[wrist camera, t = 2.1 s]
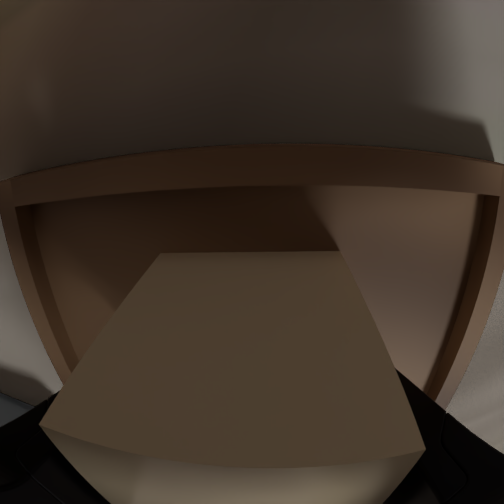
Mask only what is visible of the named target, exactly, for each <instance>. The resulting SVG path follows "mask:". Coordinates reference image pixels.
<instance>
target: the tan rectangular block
mask: <svg viewBox="0 0 504 504" xmlns="http://www.w3.org/2000/svg"><path fill="white" fill-rule="evenodd" d="M39 425H40V427H41V428H42V429H43V431H44V432H45V433H46V435H47V436H48V437H49V438H50V440H51V441H52V442H53V443H54V445H55V446H56V447H57V448H58V449H59V451H60V452H61V453H62V454H63V455H64V456H65V458H66V459H67V460H68V461H69V462H70V463H71V464H72V465H73V467H74V468H75V469H76V470H77V471H78V472H79V473H80V474H81V475H82V476H83V477H84V478H85V479H86V480H87V481H88V482H89V483H90V484H91V485H92V486H93V487H94V488H95V489H96V490H97V491H98V492H99V493H100V494H101V495H102V496H103V497H104V498H105V499H106V500H107V501H108V502H110V503H111V504H383V502H384V501H385V500H386V499H387V498H388V497H389V496H390V495H391V493H392V492H393V491H394V490H395V489H396V488H397V486H398V485H399V484H400V483H401V482H402V480H403V479H404V478H405V477H406V475H407V474H408V473H409V472H410V470H411V469H412V468H413V466H414V465H415V464H416V462H417V461H418V460H419V458H420V457H421V456H422V454H423V453H424V451H425V450H426V448H425V445H424V443H423V440H422V437H421V434H420V431H419V428H418V426H417V423H416V420H415V417H414V415H413V412H412V410H411V407H410V404H409V402H408V399H407V397H406V394H405V391H404V389H403V386H402V384H401V382H400V379H399V377H398V374H397V372H396V369H395V367H394V365H393V362H392V360H391V358H390V355H389V353H388V351H387V348H386V346H385V344H384V341H383V339H382V337H381V335H380V332H379V330H378V328H377V326H376V324H375V321H374V319H373V317H372V315H371V313H370V311H369V309H368V306H367V304H366V302H365V300H364V298H363V296H362V294H361V292H360V290H359V288H358V286H357V284H356V282H355V280H354V277H353V275H352V273H351V271H350V269H349V268H348V266H347V264H346V262H345V260H344V258H343V256H342V254H341V252H340V251H299V252H211V253H160V254H159V256H158V257H157V258H156V259H155V261H154V262H153V263H152V264H151V266H150V267H149V268H148V269H147V271H146V272H145V273H144V275H143V276H142V277H141V278H140V280H139V281H138V282H137V284H136V285H135V286H134V287H133V289H132V290H131V291H130V293H129V294H128V295H127V297H126V298H125V299H124V301H123V302H122V303H121V305H120V306H119V307H118V309H117V310H116V311H115V313H114V314H113V315H112V317H111V318H110V319H109V321H108V322H107V323H106V325H105V326H104V328H103V329H102V330H101V332H100V333H99V334H98V336H97V337H96V339H95V340H94V342H93V343H92V344H91V346H90V347H89V349H88V350H87V351H86V353H85V354H84V356H83V357H82V359H81V360H80V362H79V363H78V365H77V366H76V367H75V369H74V370H73V372H72V373H71V375H70V376H69V378H68V379H67V381H66V382H65V384H64V385H63V387H62V389H61V390H60V392H59V393H58V395H57V396H56V398H55V399H54V401H53V403H52V404H51V406H50V407H49V409H48V411H47V412H46V414H45V415H44V417H43V419H42V420H41V422H40V424H39Z"/></svg>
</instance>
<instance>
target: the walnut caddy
mask: <svg viewBox="0 0 504 504" xmlns="http://www.w3.org/2000/svg"><path fill="white" fill-rule="evenodd" d="M0 214H1V219H2V223H3V228H4V232H5V236H6V240H7V244H8V248H9V251H10V255H11V259H12V262H13V265H14V269H15V272H16V275H17V278H18V281H19V284H20V287H21V290H22V293H23V296H24V299H25V301H26V304H27V307H28V309H29V312H30V314H31V317H32V319H33V322H34V324H35V327H36V329H37V331H38V334H39V336H40V338H41V341H42V343H43V345H44V347H45V349H46V351H47V354H48V356H49V358H50V360H51V362H52V364H53V366H54V368H55V370H56V372H57V374H58V376H59V377H60V379H61V381H62V383H63V385H64V384H65V382H66V381H67V379H68V378H69V376H70V375H71V373H72V372H73V370H74V369H75V367H76V366H77V365H78V363H79V362H80V360H81V359H82V357H83V356H84V354H85V353H86V351H87V350H88V349H89V347H90V346H91V344H92V343H93V342H94V340H95V339H96V337H97V336H98V334H99V333H100V332H101V330H102V329H103V328H104V326H105V325H106V323H107V322H108V321H109V319H110V318H111V317H112V315H113V314H114V313H115V311H116V310H117V309H118V307H119V306H120V305H121V303H122V302H123V301H124V299H125V298H126V297H127V295H128V294H129V293H130V291H131V290H132V289H133V287H134V286H135V285H136V284H137V282H138V281H139V280H140V278H141V277H142V276H143V275H144V273H145V272H146V271H147V269H148V268H149V267H150V266H151V264H152V263H153V262H154V261H155V259H156V258H157V257H158V256H159V254H160V253H211V252H299V251H340V252H341V254H342V256H343V258H344V260H345V262H346V264H347V266H348V268H349V269H350V271H351V273H352V275H353V277H354V280H355V282H356V284H357V286H358V288H359V290H360V292H361V294H362V296H363V298H364V300H365V302H366V304H367V306H368V309H369V311H370V313H371V315H372V317H373V319H374V321H375V324H376V326H377V328H378V330H379V332H380V335H381V337H382V339H383V341H384V344H385V346H386V348H387V351H388V353H389V355H390V358H391V360H392V362H393V365H394V367H395V368H396V369H397V370H398V371H400V372H401V373H402V374H403V375H404V376H405V377H407V378H408V379H409V380H410V381H411V382H413V383H414V384H415V385H416V386H417V387H418V388H420V389H421V390H422V391H423V392H424V393H425V394H427V395H428V396H429V397H430V398H431V399H433V400H434V401H435V402H436V403H437V404H438V405H440V406H441V407H442V408H443V409H444V410H446V408H447V406H448V404H449V403H450V401H451V399H452V397H453V395H454V393H455V391H456V390H457V388H458V386H459V384H460V382H461V380H462V378H463V376H464V374H465V372H466V369H467V367H468V365H469V363H470V361H471V359H472V356H473V354H474V352H475V350H476V347H477V345H478V343H479V340H480V338H481V335H482V333H483V330H484V328H485V325H486V322H487V320H488V317H489V314H490V311H491V308H492V305H493V302H494V299H495V296H496V293H497V290H498V287H499V283H500V280H501V276H502V273H503V269H504V164H501V163H497V162H493V161H487V160H482V159H476V158H470V157H464V156H458V155H451V154H444V153H436V152H428V151H419V150H410V149H400V148H389V147H376V146H360V145H340V144H243V145H222V146H207V147H193V148H182V149H171V150H161V151H152V152H144V153H136V154H128V155H121V156H114V157H108V158H102V159H95V160H90V161H84V162H78V163H73V164H68V165H63V166H58V167H53V168H48V169H44V170H39V171H35V172H31V173H26V174H22V175H19V176H15V177H12V178H9V179H7V180H4V181H1V182H0Z"/></svg>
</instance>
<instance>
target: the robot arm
mask: <svg viewBox="0 0 504 504" xmlns="http://www.w3.org/2000/svg"><path fill="white" fill-rule="evenodd" d="M395 369H396V368H395ZM396 372H397V374H398V377H399V379H400V382H401V384H402V386H403V389H404V391H405V394H406V397H407V399H408V402H409V404H410V407H411V410H412V412H413V415H414V417H415V420H416V423H417V426H418V428H419V431H420V434H421V437H422V440H423V443H424V445H425V448H426V450H425V451H424V453H423V454H422V456H421V457H420V458H419V460H418V461H417V462H416V464H415V465H414V466H413V468H412V469H411V470H410V472H409V473H408V474H407V475H406V477H405V478H404V479H403V480H402V482H401V483H400V484H399V485H398V486H397V488H396V489H395V490H394V491H393V492H392V493H391V495H390V496H389V497H388V498H387V499H386V500H385V501H384V502H383V504H504V454H502V453H501V452H499V451H498V450H496V449H495V448H493V447H492V446H490V445H489V444H488V443H486V442H485V441H483V440H482V439H480V438H479V437H478V436H476V435H475V434H473V433H472V432H471V431H470V430H468V429H467V428H466V427H465V426H464V425H462V424H461V423H460V422H459V421H457V420H456V419H455V418H454V417H453V416H451V415H450V414H449V413H446V411H445V410H444V409H443V408H442V407H441V406H440V405H438V404H437V403H436V402H435V401H434V400H433V399H431V398H430V397H429V396H428V395H427V394H425V393H424V392H423V391H422V390H421V389H420V388H418V387H417V386H416V385H415V384H414V383H413V382H411V381H410V380H409V379H408V378H407V377H405V376H404V375H403V374H402V373H401V372H400V371H398V370H397V369H396ZM59 392H60V391H58V392H57V393H55V394H54V395H52V396H51V397H49V398H48V400H45V401H43V402H42V403H40V404H39V405H37V406H35V407H34V408H32V409H31V410H29V411H27V412H26V413H24V414H23V415H21V416H19V417H17V418H16V419H14V420H12V421H10V422H8V423H6V424H5V425H3V426H1V427H0V504H111V503H110V502H108V501H107V500H106V499H105V498H104V497H103V496H102V495H101V494H100V493H99V492H98V491H97V490H96V489H95V488H94V487H93V486H92V485H91V484H90V483H89V482H88V481H87V480H86V479H85V478H84V477H83V476H82V475H81V474H80V473H79V472H78V471H77V470H76V469H75V468H74V467H73V465H72V464H71V463H70V462H69V461H68V460H67V459H66V458H65V456H64V455H63V454H62V453H61V452H60V451H59V449H58V448H57V447H56V446H55V445H54V443H53V442H52V441H51V440H50V438H49V437H48V436H47V435H46V433H45V432H44V431H43V429H42V428H41V427H40V425H39V424H40V422H41V420H42V419H43V417H44V415H45V414H46V412H47V411H48V409H49V407H50V406H51V404H52V403H53V401H54V399H55V398H56V396H57V395H58V393H59Z"/></svg>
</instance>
